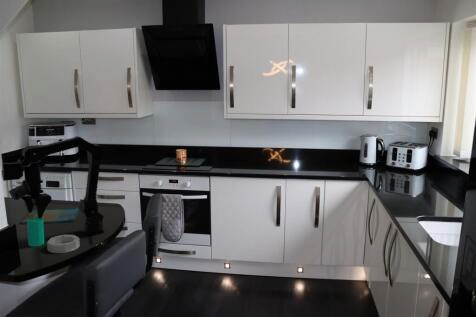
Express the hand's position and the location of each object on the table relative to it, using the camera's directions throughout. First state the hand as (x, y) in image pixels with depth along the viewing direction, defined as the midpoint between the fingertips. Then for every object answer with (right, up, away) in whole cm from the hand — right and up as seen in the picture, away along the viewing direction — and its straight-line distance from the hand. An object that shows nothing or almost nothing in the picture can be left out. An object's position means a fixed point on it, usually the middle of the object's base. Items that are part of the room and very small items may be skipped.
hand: (34, 215), depth 160 cm
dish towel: (-9, -7, +34) cm, 35 cm away
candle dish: (+12, -13, 0) cm, 17 cm away
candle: (0, -12, +2) cm, 12 cm away
